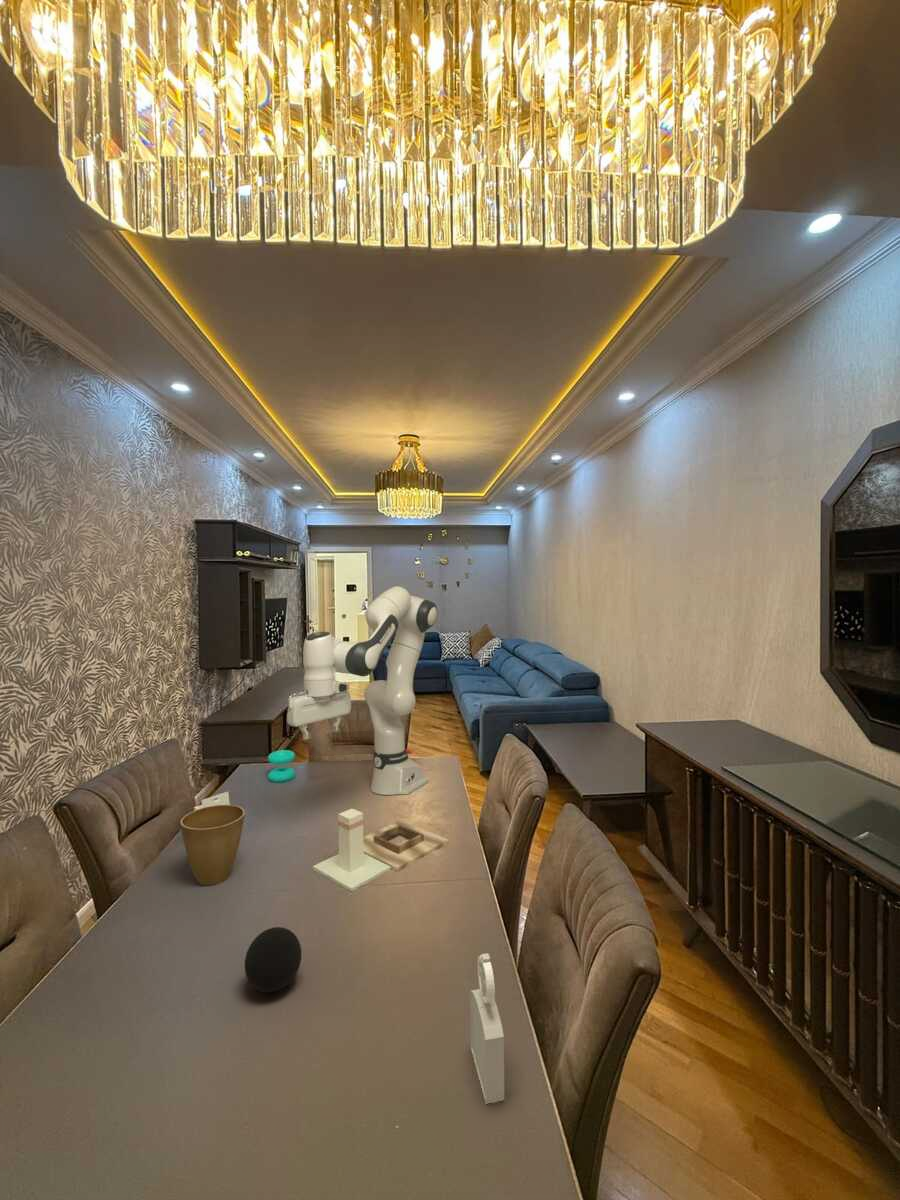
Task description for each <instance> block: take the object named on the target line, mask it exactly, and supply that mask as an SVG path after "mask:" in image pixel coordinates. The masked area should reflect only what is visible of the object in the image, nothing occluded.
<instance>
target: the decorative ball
mask: <svg viewBox="0 0 900 1200" xmlns="http://www.w3.org/2000/svg"><path fill="white" fill-rule="evenodd" d="M301 961H302V945H301V944H300V940H299V939H298V937H297V936H296V934H295V933H294V932H293V931H292V930H290V929H287V928H285V927H282V926H281V927H280V926H277V927H274V926H273V927H270V928H267V929H265V930H263V931H262V932H261V933H259V934H258V935H256V937H255V938H254V939H253V940H252V942H251V943H250V945H249V947H248V948H247V951H246V954H245V957H244V974H245V977H246V979H247V981H248V983H249V984H250V985H251V986H252V987H253V988H254V989H255V990H257V991H259V992H262V993H273V992H274V993H275V992H277V991H280V990H282V989H283V988H285V987H286V986H287V985H289V984H290V982H292V980H293V979H295V976H296V974H297V973H298V971H299V969H300V966H301Z"/></svg>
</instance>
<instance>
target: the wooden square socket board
mask: <svg viewBox="0 0 900 1200" xmlns="http://www.w3.org/2000/svg"><path fill="white" fill-rule="evenodd" d="M397 837H402V838H404V839H407V841H405V842H403V843H401V844H399V845H397V844H395V843H393V842H391V840H393V839H395V838H397ZM447 844H449V839H448V838H446V837H443V836H441V835H438V834H435V833H433V832H431V831H429V830H428V831H427V830H425V829H423V828H420V827H418V826H416V825H413V824H411V823H408V822H405V821H403V820H401V819H400V820H397V821H395V822H393V823H391V824H389V825H387V826H385V827H383V828H380V829H378V830H375V831H373V832H372V833H369V834H367V835H365V836H363V850H364V854H366V855H368V856H370V857H372V858H374V859H376V860H378V861H380V862H382V863H384V864H386V865H388V866H390V867H391V870H394V871H395V872H400V871H402V870H403V869H405V868H407V867H409V866H410V865H412V864H413V863H416V862H417V861H419V860H421V859H423V858H424V857H426V856H428V855H430V854H431V853H433V852H435V851H437V850H439V849H440V848H443V847H444V846H446V845H447Z"/></svg>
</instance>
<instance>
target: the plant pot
mask: <svg viewBox="0 0 900 1200" xmlns="http://www.w3.org/2000/svg"><path fill="white" fill-rule="evenodd" d="M245 812H246V811H245V809H244V808H243V807H241V806H238V805H232V804H230V805H215V806H209V807H204V808H201V809H198V810H195V811H194V810H193V811H191V812H189V813H187V814H185V816H183V817H182V818H181V820H180V829H181V834H182V839H183V843H184V848H185V852H186V855H187V859H188V862H189V865H190V867H191V871H192V873H193V875H194V876H195V879H196V881H197V883H198V884H200V885H202V886H214V885H218V884H220V883H222V882H224V881H226V880H227V879H228V878H229V876H230V874H231V871H232V869H233V865H234V862H235V860H236V857H237V854H238V853H237V852H238V850H239V845H240V841H241V837H242V836H241V835H242V832H243V825H244V820H245Z"/></svg>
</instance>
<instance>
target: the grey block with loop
mask: <svg viewBox="0 0 900 1200" xmlns="http://www.w3.org/2000/svg"><path fill="white" fill-rule="evenodd" d="M477 977H478V979H477V980H478V986H479V988H478V989H471V990H470V991H469V992H470V993H469V994H470V995H469V996H470V997H469V998H470V999H469V1001H470V1003H469V1004H470V1010H469V1011H470V1050H471V1055H472V1054H473V1055H472V1058H474V1059H473V1062H474V1066H475V1065H476V1066H475V1070H476V1069H477V1070H476V1073H478V1074H477V1077H478V1080H480V1081H479V1084H481V1085H480V1088H482V1089H481V1092H482V1095H484V1096H483V1099H485V1100H484V1103H485V1105H486V1104H488V1103H493V1104H495V1103H494V1102H496V1101H497V1102H498V1101H503V1100H504V1101H505V1035H504V1031H503V1025H502V1021H501V1017H500V1013H499V1009H498V1006H497V1003H496V1000H495V999H496V990H495V988H496V987H495V979H494V978H495V977H494V971H493V966H492V963H491V956H490V954H489V953H481V954H480V955H478V957H477ZM504 1101H503V1102H504ZM498 1103H499V1102H498ZM488 1105H489V1104H488Z"/></svg>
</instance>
